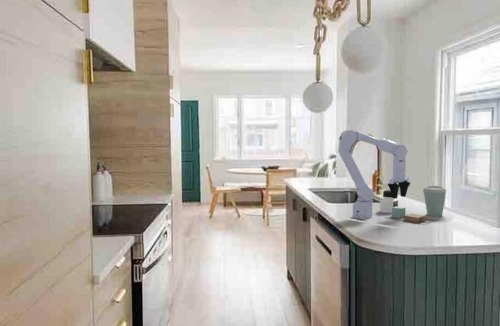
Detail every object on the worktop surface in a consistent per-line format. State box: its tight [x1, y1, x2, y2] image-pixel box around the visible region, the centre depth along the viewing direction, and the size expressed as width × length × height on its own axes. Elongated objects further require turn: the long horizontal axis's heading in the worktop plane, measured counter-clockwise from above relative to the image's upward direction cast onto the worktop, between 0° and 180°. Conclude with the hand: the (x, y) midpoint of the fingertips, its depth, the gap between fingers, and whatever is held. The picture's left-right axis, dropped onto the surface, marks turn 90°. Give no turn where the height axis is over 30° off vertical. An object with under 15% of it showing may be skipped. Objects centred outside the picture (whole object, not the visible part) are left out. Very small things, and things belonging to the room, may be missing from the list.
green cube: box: [391, 206, 407, 218], centre depth 202 cm, size 4×4×4 cm
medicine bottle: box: [379, 189, 399, 214], centre depth 216 cm, size 7×7×12 cm
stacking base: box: [385, 213, 438, 226], centre depth 196 cm, size 14×20×4 cm
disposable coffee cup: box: [422, 185, 447, 217], centre depth 208 cm, size 11×11×15 cm
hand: (399, 197), depth 202 cm, fingers open, 7 cm apart
